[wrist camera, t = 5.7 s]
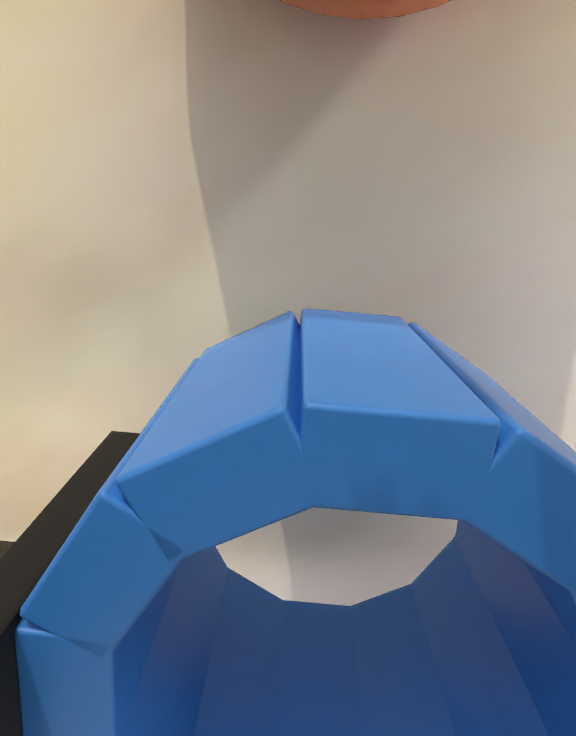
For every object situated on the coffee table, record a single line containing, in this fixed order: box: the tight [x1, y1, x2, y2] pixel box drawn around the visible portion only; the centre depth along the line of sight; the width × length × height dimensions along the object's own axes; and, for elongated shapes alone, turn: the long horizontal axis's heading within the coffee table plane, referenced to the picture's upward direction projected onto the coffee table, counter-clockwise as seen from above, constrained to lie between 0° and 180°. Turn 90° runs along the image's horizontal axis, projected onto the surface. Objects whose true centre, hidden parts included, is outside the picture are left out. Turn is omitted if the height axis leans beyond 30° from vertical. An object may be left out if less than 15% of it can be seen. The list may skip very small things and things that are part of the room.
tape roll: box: [14, 308, 576, 736], centre depth 10 cm, size 9×9×6 cm
